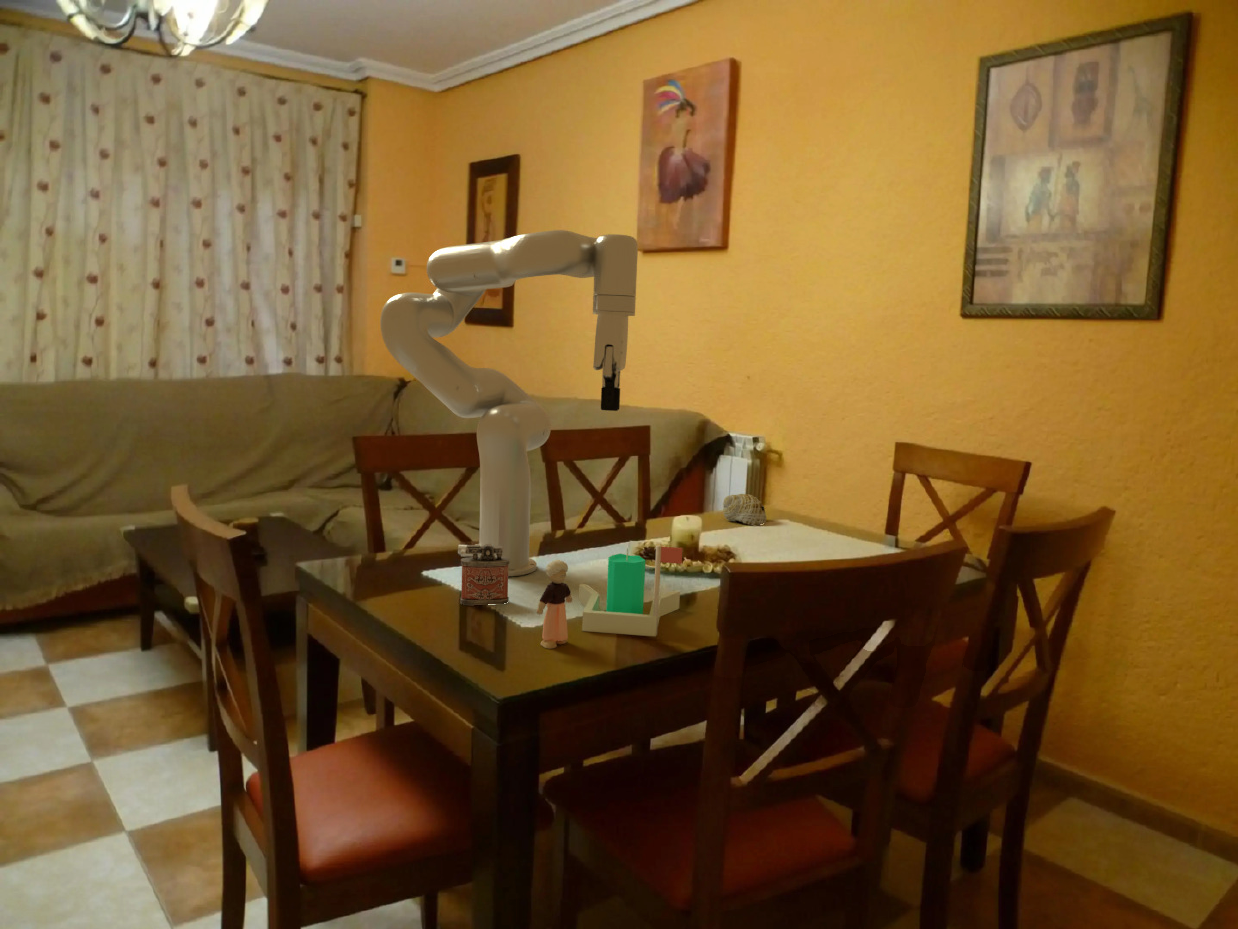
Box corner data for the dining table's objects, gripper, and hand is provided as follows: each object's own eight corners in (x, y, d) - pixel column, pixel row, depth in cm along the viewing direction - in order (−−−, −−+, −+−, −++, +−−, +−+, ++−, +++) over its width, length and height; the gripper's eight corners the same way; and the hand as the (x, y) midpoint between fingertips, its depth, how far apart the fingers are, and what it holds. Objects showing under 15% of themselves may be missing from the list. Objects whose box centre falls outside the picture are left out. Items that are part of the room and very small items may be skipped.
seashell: (775, 522, 226) (762, 488, 223) (743, 540, 224) (729, 506, 220) (756, 512, 235) (743, 479, 232) (725, 529, 233) (711, 496, 230)
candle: (639, 629, 142) (643, 554, 140) (602, 625, 143) (605, 551, 141) (645, 617, 148) (648, 546, 146) (609, 614, 149) (612, 543, 147)
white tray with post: (563, 629, 140) (566, 541, 138) (579, 600, 156) (582, 520, 154) (677, 638, 139) (682, 549, 137) (682, 608, 154) (686, 527, 152)
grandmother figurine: (554, 652, 130) (557, 567, 128) (531, 648, 132) (533, 563, 130) (578, 637, 137) (581, 555, 135) (556, 633, 139) (558, 552, 137)
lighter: (508, 599, 155) (509, 542, 154) (509, 605, 152) (510, 547, 150) (460, 600, 154) (461, 542, 152) (460, 605, 150) (461, 547, 149)
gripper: (598, 307, 168) (595, 406, 171) (586, 304, 153) (583, 412, 156) (638, 308, 167) (634, 408, 170) (631, 306, 152) (626, 414, 155)
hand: (610, 409), depth 163 cm, fingers closed
